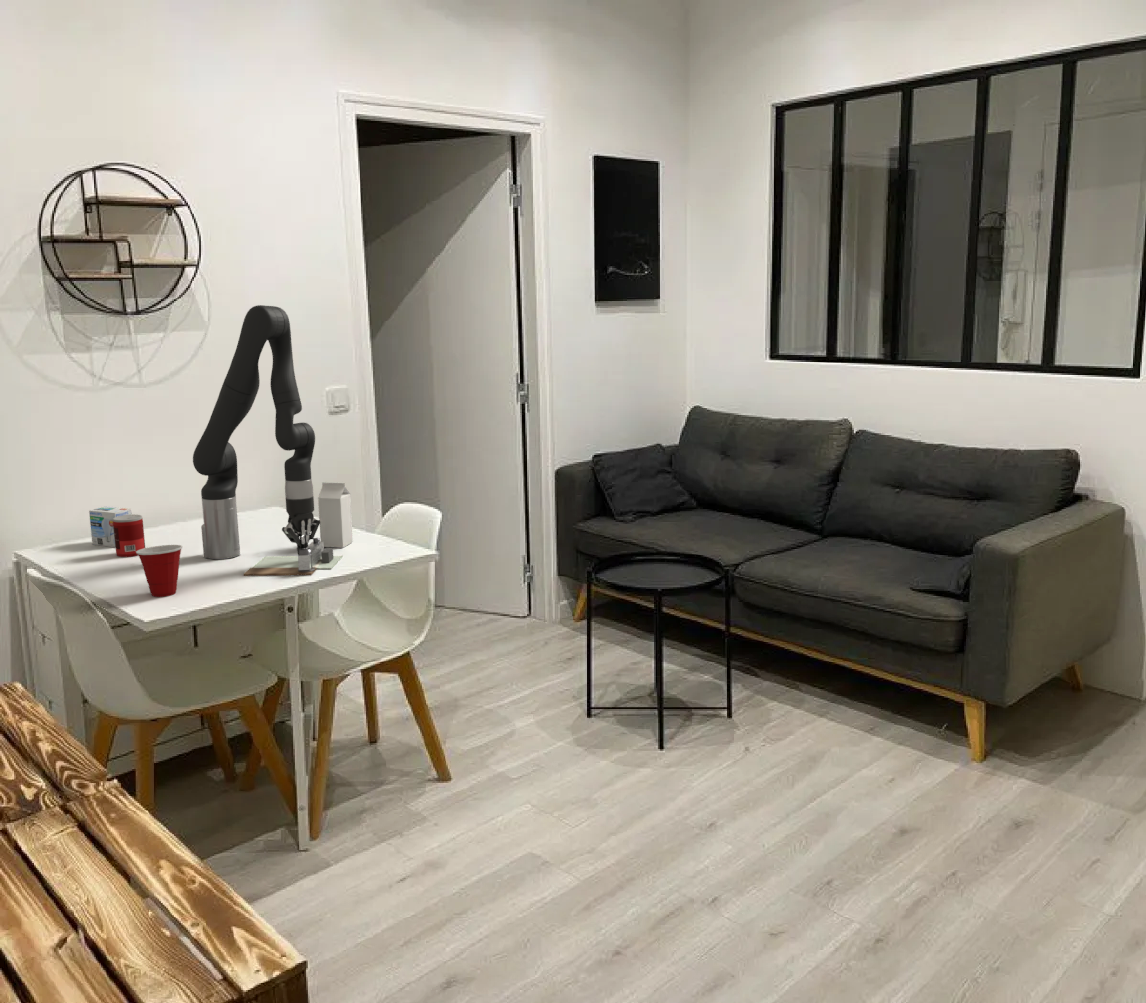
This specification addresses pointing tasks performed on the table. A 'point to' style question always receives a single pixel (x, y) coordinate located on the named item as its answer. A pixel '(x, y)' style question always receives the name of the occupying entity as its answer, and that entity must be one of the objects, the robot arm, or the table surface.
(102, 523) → the light bulb box
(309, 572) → the strip
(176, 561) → the plastic cup
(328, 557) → the block
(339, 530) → the milk carton
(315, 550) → the lock bar
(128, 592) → the table surface
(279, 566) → the door panel
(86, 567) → the table surface
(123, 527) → the canned food
